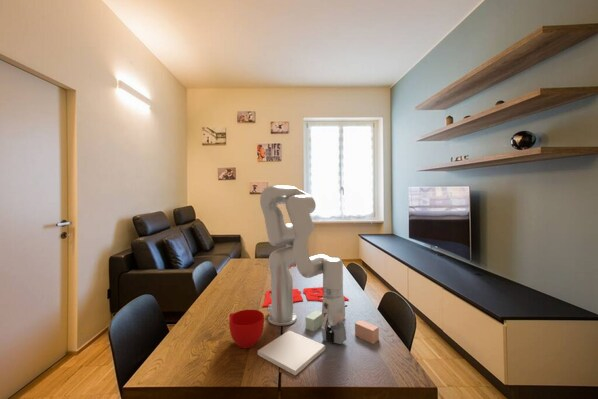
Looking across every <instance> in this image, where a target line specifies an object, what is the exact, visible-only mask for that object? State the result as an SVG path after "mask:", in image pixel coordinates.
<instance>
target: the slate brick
mask: <svg viewBox="0 0 598 399" xmlns="http://www.w3.org/2000/svg"><path fill="white" fill-rule="evenodd" d="M328 327H331V326H330V325H328ZM320 329H321V336H322V341H325V342H327V341H326V331H325V329H323V328H322V326H320ZM333 332H334V343H335V344H339V345H343V343H345V341H347V335H346V334H347V333H346V327H345V325H343V324H341V325H337V324H336V325H335V326H333ZM334 343H333V344H334Z"/></svg>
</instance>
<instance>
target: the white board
mask: <svg viewBox="0 0 598 399" xmlns="http://www.w3.org/2000/svg"><path fill="white" fill-rule="evenodd" d="M325 350H326V345H325V344H323V343H321V342H318V341H316V340H313V339H311V338H309V337H306V336H304V335H301V334H299V333H296V332H294V331H292V330H287V331H286V332H285V333H283V334H281V335H280V336H278V337H276V338H274V339H273V340H272V341H271V342H269V343H267V344H266V345H264V346H262V347H261V348H260V349H258V350H257V356H259V357H261V358H263V359H264V360H266V361H267V362H269V363H272V364H273V365H276V366H277V367H279V368H281V369H283V370H284V371H286V372H288V373H289V374H292V375H293V376H296V375H298V374H299V373H301V371H302V370H304V369H305V368H306V367H307V366H308V365H309V364H310V363H312V361H314V360H315V359H316V358H317V357H318V356H319V355H321V354H323V352H324V351H325Z"/></svg>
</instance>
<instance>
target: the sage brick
mask: <svg viewBox="0 0 598 399" xmlns="http://www.w3.org/2000/svg"><path fill="white" fill-rule="evenodd" d="M322 324H323V322H322V310H321V311H320V310H318V309H317V310H314V311H312V312H311V313H309V314H308V315H306V317H305V329H306V330H308V331H311V332H315V331H317V330H318V329H319V328H321V327H322Z"/></svg>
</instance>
